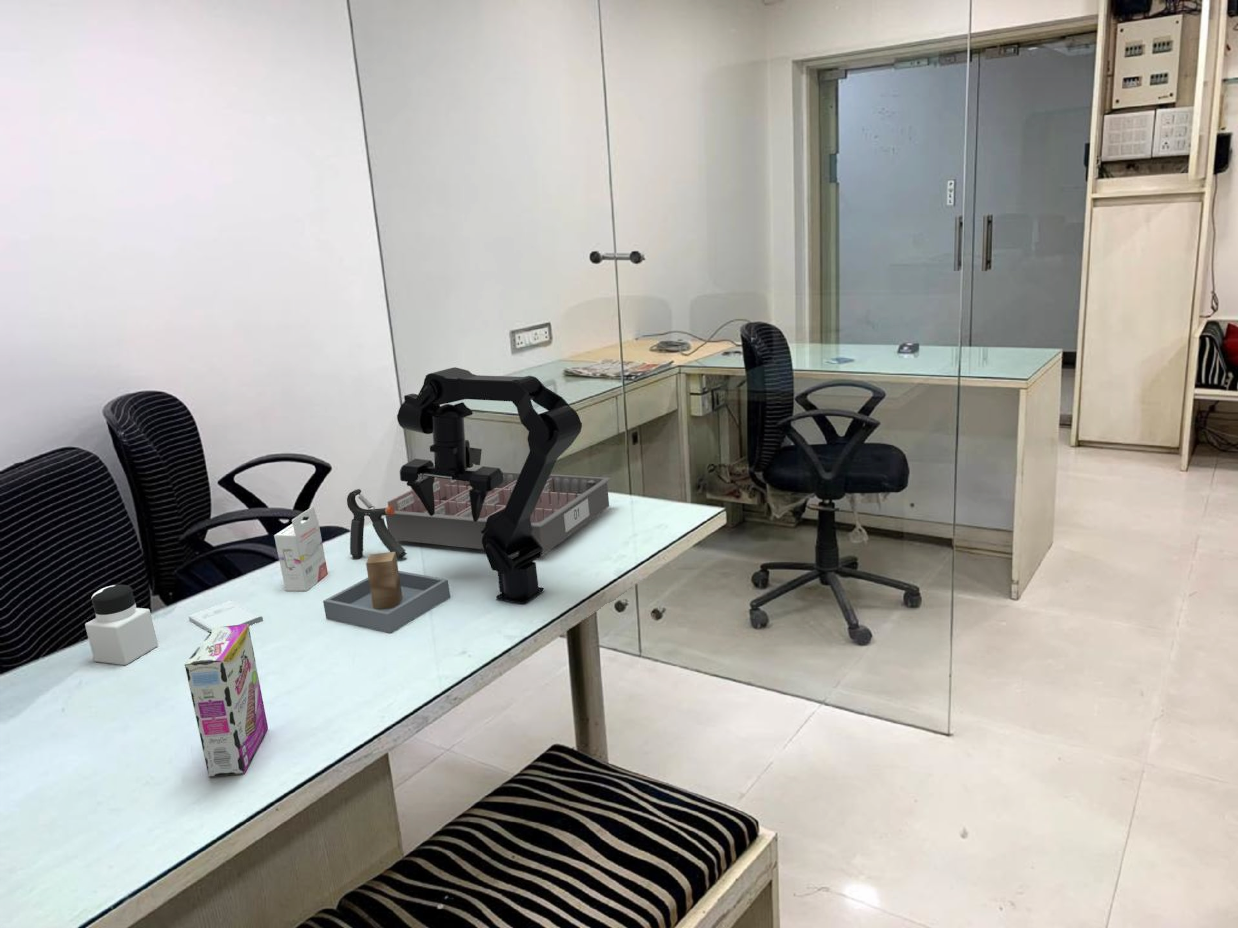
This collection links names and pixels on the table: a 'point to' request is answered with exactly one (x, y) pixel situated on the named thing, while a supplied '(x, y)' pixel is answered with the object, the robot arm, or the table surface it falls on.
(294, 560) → the ink cartridge box
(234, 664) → the candy bar box
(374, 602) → the walnut block
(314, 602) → the table surface
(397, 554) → the hand grip strengthener
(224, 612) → the white power bank
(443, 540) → the organizer tray
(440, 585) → the charcoal bin
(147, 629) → the medicine bottle
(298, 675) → the table surface
